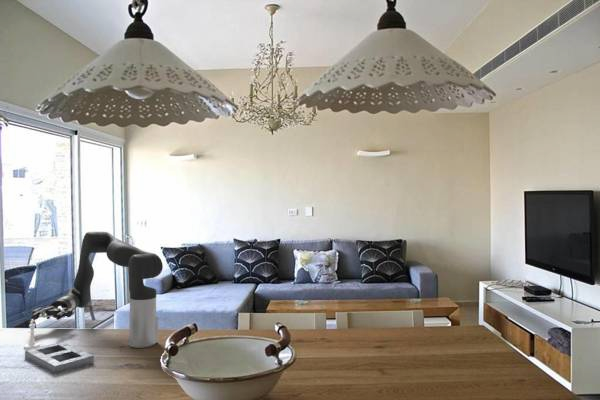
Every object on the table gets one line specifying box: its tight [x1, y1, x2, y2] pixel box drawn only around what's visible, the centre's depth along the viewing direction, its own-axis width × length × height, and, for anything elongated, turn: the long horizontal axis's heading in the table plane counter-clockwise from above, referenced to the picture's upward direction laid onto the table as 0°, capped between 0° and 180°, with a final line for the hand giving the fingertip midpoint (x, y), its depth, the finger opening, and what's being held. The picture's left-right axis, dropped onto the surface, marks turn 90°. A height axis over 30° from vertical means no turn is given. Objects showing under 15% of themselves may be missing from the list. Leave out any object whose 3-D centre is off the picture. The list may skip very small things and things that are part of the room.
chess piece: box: [23, 319, 41, 350], centre depth 158 cm, size 5×5×10 cm
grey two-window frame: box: [24, 341, 95, 375], centre depth 145 cm, size 12×22×2 cm, turn 52°
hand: (45, 317), depth 169 cm, fingers open, 8 cm apart
